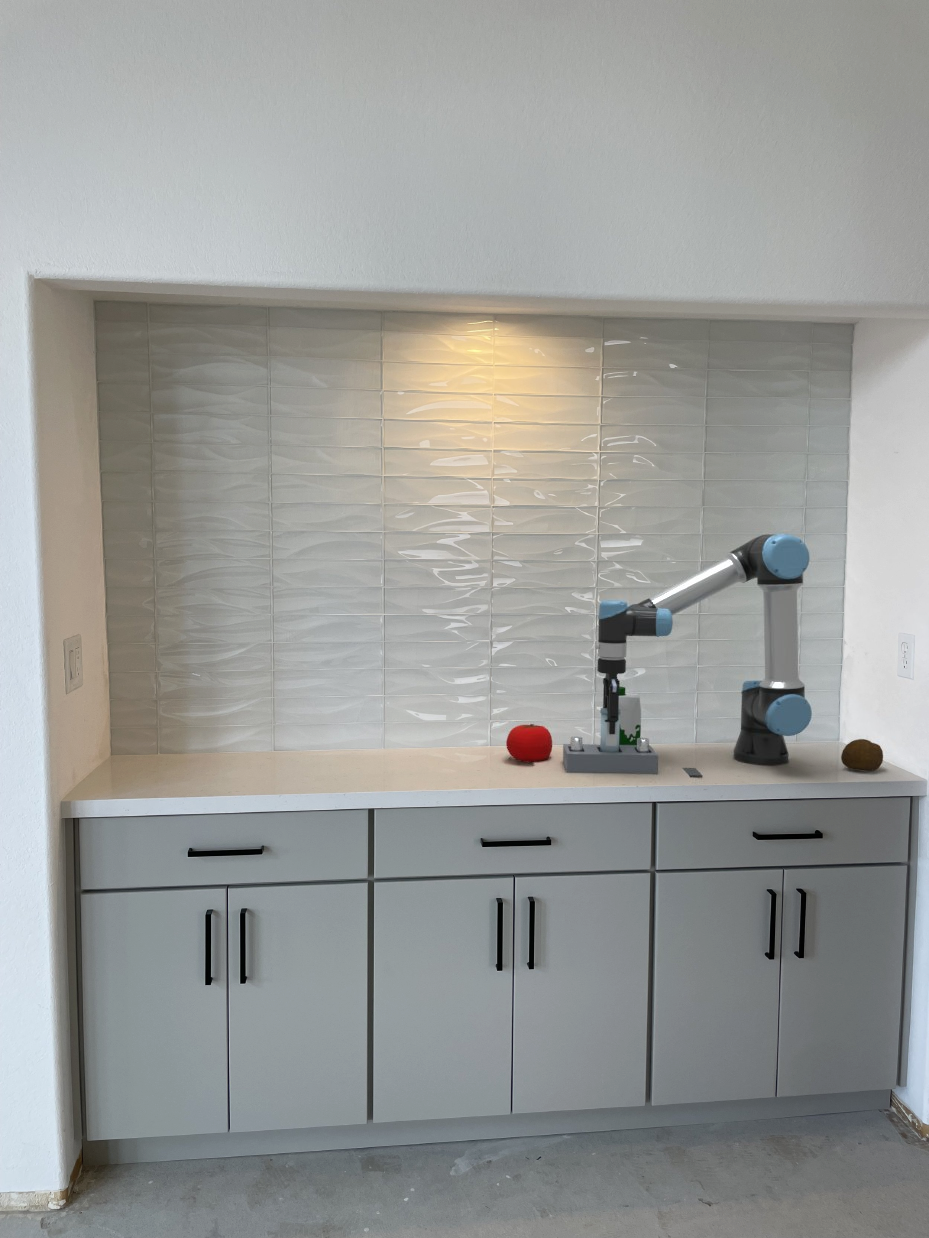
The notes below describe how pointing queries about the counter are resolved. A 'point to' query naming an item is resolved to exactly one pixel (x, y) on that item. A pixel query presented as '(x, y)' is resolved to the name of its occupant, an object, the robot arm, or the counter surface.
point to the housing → (610, 760)
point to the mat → (693, 772)
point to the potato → (862, 755)
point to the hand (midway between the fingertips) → (609, 743)
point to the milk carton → (629, 717)
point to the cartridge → (603, 732)
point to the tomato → (529, 743)
